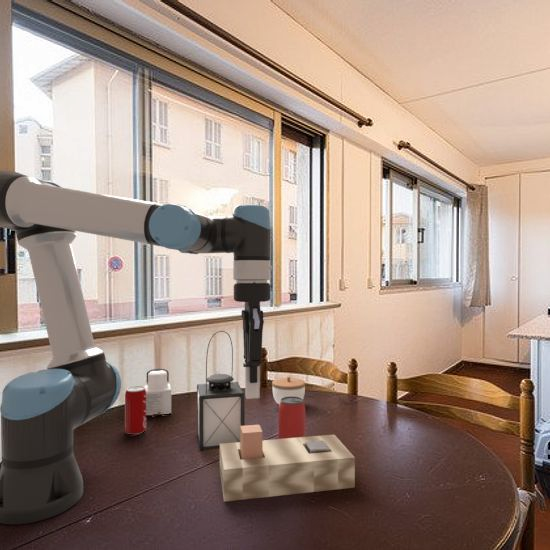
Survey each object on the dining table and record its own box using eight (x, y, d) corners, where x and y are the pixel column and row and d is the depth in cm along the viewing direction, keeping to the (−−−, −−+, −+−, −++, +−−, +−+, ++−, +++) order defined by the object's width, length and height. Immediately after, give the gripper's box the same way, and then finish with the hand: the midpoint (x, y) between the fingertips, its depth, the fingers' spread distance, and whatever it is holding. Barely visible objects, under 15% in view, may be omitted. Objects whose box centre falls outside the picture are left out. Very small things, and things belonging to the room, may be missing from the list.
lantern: (238, 430, 113) (238, 327, 113) (245, 446, 102) (244, 333, 102) (196, 434, 110) (196, 329, 110) (199, 451, 99) (198, 334, 99)
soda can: (147, 434, 110) (147, 389, 110) (125, 437, 108) (125, 391, 108) (145, 426, 115) (145, 383, 115) (124, 429, 113) (124, 385, 113)
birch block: (223, 501, 77) (223, 469, 77) (219, 471, 89) (219, 443, 89) (354, 487, 83) (354, 457, 83) (334, 460, 94) (334, 434, 94)
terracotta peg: (242, 463, 82) (242, 433, 82) (240, 454, 86) (240, 425, 86) (262, 461, 83) (262, 431, 83) (259, 453, 87) (259, 424, 87)
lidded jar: (311, 404, 135) (311, 375, 135) (294, 413, 126) (294, 382, 126) (282, 398, 141) (283, 371, 141) (265, 407, 132) (265, 378, 132)
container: (144, 409, 130) (144, 368, 130) (169, 407, 132) (169, 366, 132) (144, 417, 123) (144, 373, 123) (171, 415, 125) (171, 372, 125)
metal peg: (310, 479, 85) (310, 449, 85) (305, 469, 89) (305, 442, 89) (329, 477, 86) (329, 448, 86) (323, 468, 90) (323, 440, 90)
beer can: (303, 455, 97) (303, 404, 97) (276, 453, 98) (276, 402, 98) (307, 444, 103) (307, 396, 103) (281, 442, 105) (281, 394, 105)
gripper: (276, 282, 79) (276, 406, 79) (264, 281, 92) (264, 387, 92) (237, 282, 77) (237, 408, 77) (230, 281, 90) (230, 389, 90)
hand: (252, 397), depth 84 cm, fingers closed
